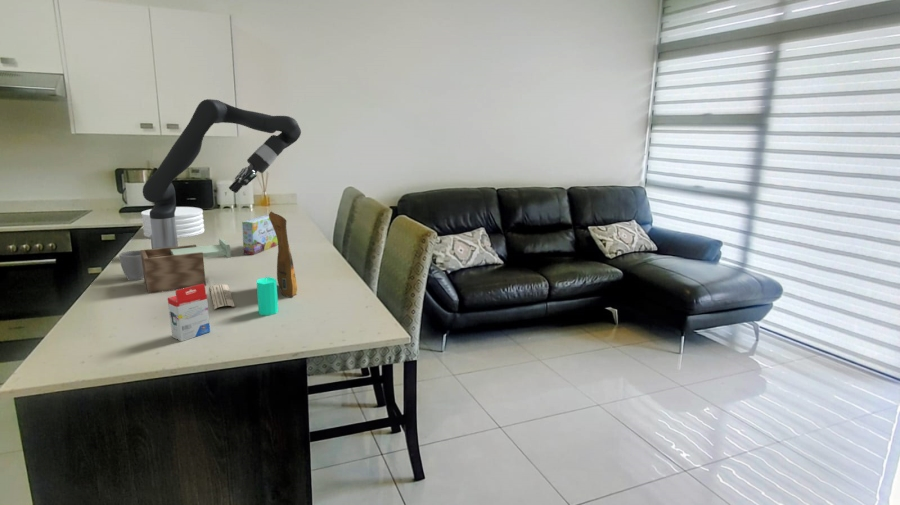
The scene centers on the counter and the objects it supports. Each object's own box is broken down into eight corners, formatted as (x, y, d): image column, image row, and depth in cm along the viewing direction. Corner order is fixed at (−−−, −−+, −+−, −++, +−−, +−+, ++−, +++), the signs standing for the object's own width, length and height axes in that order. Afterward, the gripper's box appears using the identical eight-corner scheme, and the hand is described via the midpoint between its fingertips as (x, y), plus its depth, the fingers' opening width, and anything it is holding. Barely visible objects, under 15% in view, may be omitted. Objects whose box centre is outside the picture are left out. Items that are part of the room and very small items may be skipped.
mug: (149, 280, 185) (146, 255, 182) (121, 282, 181) (118, 257, 178) (150, 271, 195) (147, 247, 193) (124, 274, 191) (120, 249, 188)
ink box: (201, 328, 144) (196, 279, 141) (210, 332, 142) (206, 283, 138) (171, 337, 138) (165, 287, 134) (180, 342, 135) (175, 290, 131)
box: (198, 275, 192) (195, 244, 189) (205, 285, 181) (202, 252, 178) (144, 282, 182) (140, 250, 179) (148, 293, 171) (144, 259, 168)
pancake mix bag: (280, 300, 169) (275, 218, 162) (272, 284, 185) (267, 209, 178) (300, 297, 172) (297, 217, 165) (290, 282, 188) (287, 208, 181)
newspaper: (209, 290, 178) (209, 285, 178) (231, 287, 182) (231, 283, 181) (214, 312, 158) (214, 307, 158) (238, 309, 162) (238, 303, 161)
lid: (223, 250, 194) (222, 238, 193) (230, 257, 185) (229, 244, 184) (171, 256, 184) (169, 243, 183) (175, 264, 175) (174, 250, 174)
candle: (261, 308, 161) (259, 272, 158) (280, 308, 161) (278, 273, 159) (256, 315, 155) (253, 278, 152) (275, 315, 156) (273, 278, 153)
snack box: (254, 255, 223) (252, 222, 220) (243, 254, 224) (240, 221, 221) (279, 245, 244) (277, 214, 240) (268, 244, 245) (267, 213, 241)
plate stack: (130, 236, 251) (127, 213, 248) (169, 226, 278) (167, 205, 275) (180, 240, 246) (178, 217, 244) (215, 229, 273) (213, 208, 270)
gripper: (250, 150, 200) (220, 182, 196) (260, 152, 189) (228, 186, 185) (264, 163, 205) (235, 194, 201) (275, 166, 194) (244, 199, 190)
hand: (232, 190), depth 193 cm, fingers open, 3 cm apart
